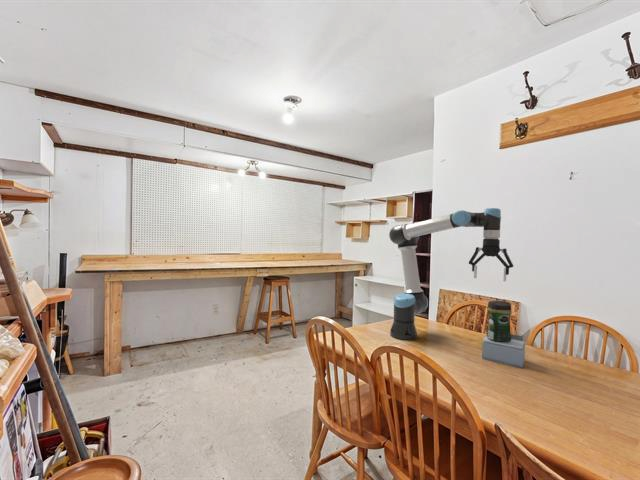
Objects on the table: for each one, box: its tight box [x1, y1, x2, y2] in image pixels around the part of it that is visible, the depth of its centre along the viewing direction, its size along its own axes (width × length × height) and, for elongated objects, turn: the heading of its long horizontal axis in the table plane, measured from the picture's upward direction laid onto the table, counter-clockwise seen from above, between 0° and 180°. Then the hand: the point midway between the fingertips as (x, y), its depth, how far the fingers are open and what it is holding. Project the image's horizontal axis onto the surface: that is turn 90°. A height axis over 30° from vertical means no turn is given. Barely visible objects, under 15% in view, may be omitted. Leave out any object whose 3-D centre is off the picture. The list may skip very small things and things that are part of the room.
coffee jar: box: [486, 300, 512, 342], centre depth 146 cm, size 10×8×19 cm
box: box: [481, 340, 526, 369], centre depth 145 cm, size 16×12×8 cm
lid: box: [482, 333, 526, 349], centre depth 145 cm, size 16×12×3 cm
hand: (489, 279), depth 158 cm, fingers open, 13 cm apart
